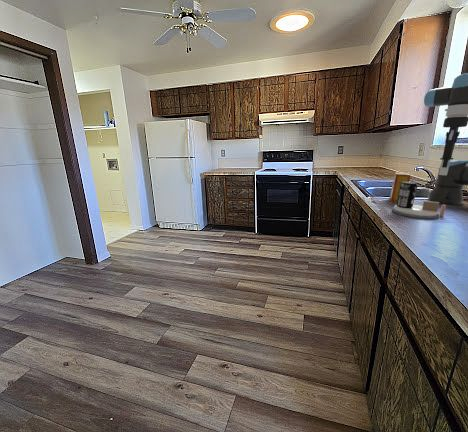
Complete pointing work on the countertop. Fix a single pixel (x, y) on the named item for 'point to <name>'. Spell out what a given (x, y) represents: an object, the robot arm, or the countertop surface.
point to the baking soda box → (398, 184)
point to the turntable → (420, 209)
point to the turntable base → (422, 216)
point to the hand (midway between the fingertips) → (442, 174)
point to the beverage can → (407, 194)
